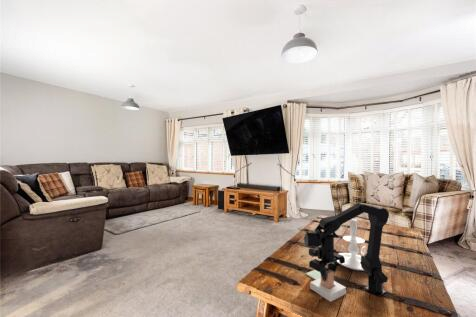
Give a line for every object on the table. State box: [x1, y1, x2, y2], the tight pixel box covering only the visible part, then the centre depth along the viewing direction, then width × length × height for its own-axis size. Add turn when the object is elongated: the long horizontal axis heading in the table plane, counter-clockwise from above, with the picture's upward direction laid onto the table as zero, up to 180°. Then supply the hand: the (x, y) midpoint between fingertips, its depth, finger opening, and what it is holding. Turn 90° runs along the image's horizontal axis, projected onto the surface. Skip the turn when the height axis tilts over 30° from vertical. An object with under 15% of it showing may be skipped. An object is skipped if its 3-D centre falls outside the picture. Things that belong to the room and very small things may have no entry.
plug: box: [321, 269, 335, 289], centre depth 98 cm, size 4×4×9 cm
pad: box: [305, 269, 321, 280], centre depth 111 cm, size 9×9×1 cm
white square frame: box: [309, 278, 347, 303], centre depth 98 cm, size 11×11×3 cm
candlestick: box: [337, 218, 367, 271], centre depth 123 cm, size 21×25×28 cm
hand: (327, 279), depth 98 cm, fingers closed on plug, 4 cm apart
